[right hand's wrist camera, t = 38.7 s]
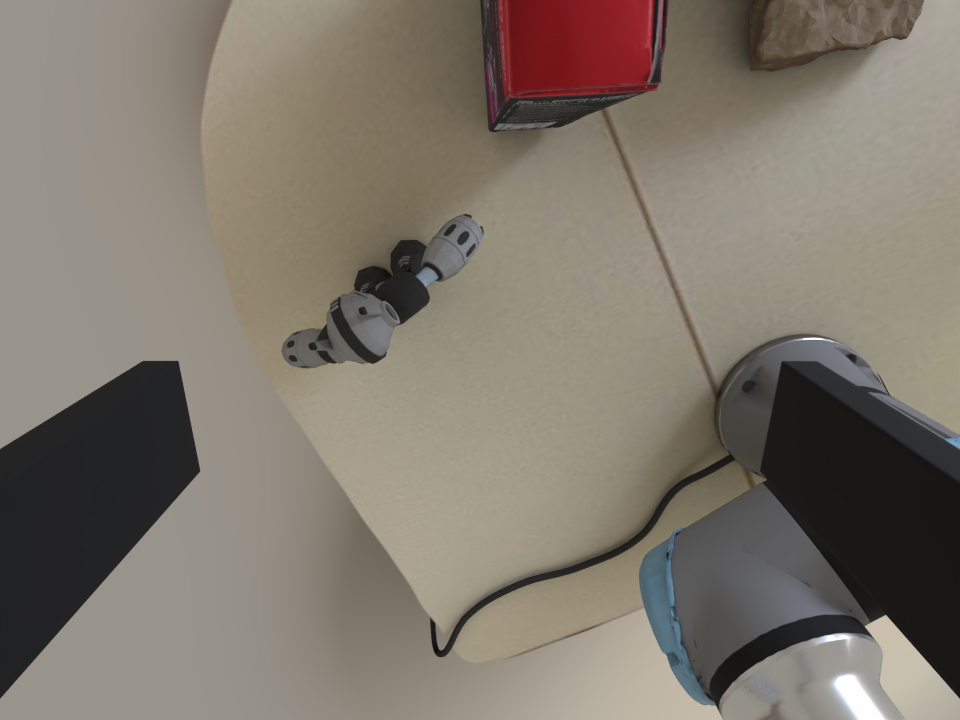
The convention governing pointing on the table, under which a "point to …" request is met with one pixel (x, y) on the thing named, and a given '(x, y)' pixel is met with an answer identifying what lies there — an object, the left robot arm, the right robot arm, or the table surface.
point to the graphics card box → (568, 57)
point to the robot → (384, 299)
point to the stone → (823, 28)
